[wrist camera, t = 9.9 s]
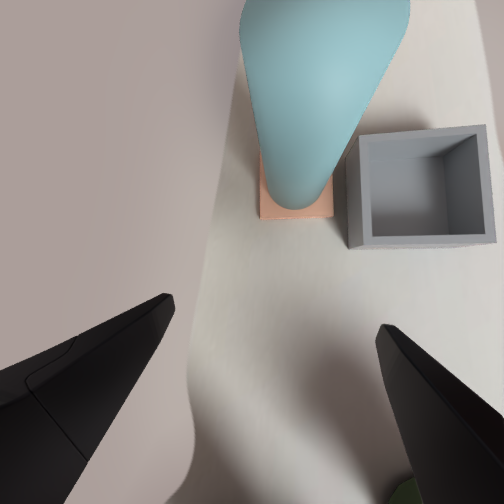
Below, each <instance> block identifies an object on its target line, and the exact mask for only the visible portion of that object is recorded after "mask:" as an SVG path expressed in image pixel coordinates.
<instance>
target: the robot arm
mask: <svg viewBox="0 0 504 504" xmlns="http://www.w3.org/2000/svg"><path fill="white" fill-rule="evenodd" d="M174 312H175V304H174V300H173V296H172V295H171V294H167V293H162V294H160V295H158V296H156V297H154V298H152V299H150V300H148V301H146V302H144V303H142V304H140V305H138V306H136V307H134V308H132V309H130V310H128V311H126V312H124V313H122V314H120V315H118V316H115V317H114V318H111V319H110V320H107V321H106V322H104V323H101V324H99V325H97V326H95V327H93V328H91V329H89V330H87V331H85V332H83V333H81V334H79V335H78V336H75V337H73V338H71V339H69V340H67V341H65V342H63V343H60V344H58V345H56V346H54V347H52V348H50V349H48V350H46V351H43V352H41V353H39V354H37V355H35V356H32V357H30V358H28V359H26V360H23V361H21V362H19V363H16V364H14V365H12V366H9V367H7V368H5V369H3V370H0V504H64V502H65V500H66V498H67V497H68V495H69V494H70V492H71V490H72V489H73V487H74V485H75V484H76V482H77V480H78V479H79V477H80V475H81V474H82V472H83V470H84V469H85V467H86V465H87V463H88V461H89V460H90V458H91V457H92V455H93V453H94V452H95V450H96V448H97V447H98V445H99V443H100V442H101V440H102V438H103V437H104V435H105V433H106V432H107V430H108V429H109V427H110V425H111V423H112V422H113V420H114V419H115V417H116V415H117V414H118V412H119V410H120V409H121V407H122V405H123V404H124V402H125V400H126V399H127V397H128V395H129V393H130V392H131V390H132V389H133V387H134V385H135V384H136V382H137V380H138V378H139V377H140V375H141V374H142V372H143V370H144V369H145V367H146V365H147V364H148V362H149V360H150V358H151V357H152V355H153V354H154V352H155V350H156V349H157V347H158V345H159V343H160V342H161V340H162V338H163V336H164V333H165V331H166V329H167V327H168V325H169V323H170V321H171V319H172V317H173V315H174ZM375 343H376V348H377V353H378V358H379V362H380V367H381V372H382V377H383V381H384V385H385V388H386V391H387V394H388V398H389V401H390V404H391V407H392V410H393V413H394V416H395V419H396V422H397V425H398V428H399V431H400V434H401V437H402V440H403V444H404V447H405V450H406V453H407V456H408V459H409V462H410V465H411V468H412V471H413V474H414V477H415V480H416V483H417V486H418V490H419V493H420V496H421V499H422V502H423V504H504V418H503V416H502V415H501V414H500V413H499V412H497V411H496V410H495V409H494V408H493V407H491V406H490V405H489V404H488V403H487V402H485V401H484V400H483V399H482V398H481V397H479V396H478V395H477V394H476V393H475V392H473V391H472V390H471V389H470V388H469V387H467V386H466V385H465V384H464V383H463V382H461V381H460V380H459V379H458V378H457V377H456V376H454V375H453V374H452V373H451V372H450V371H448V370H447V369H446V368H445V367H444V366H442V365H441V364H440V363H439V362H438V361H436V360H435V359H434V358H433V357H432V356H430V355H429V354H428V353H427V352H426V351H424V350H423V349H422V348H421V347H420V346H418V345H417V344H416V343H415V342H414V341H412V340H411V339H410V338H409V337H408V336H406V335H405V334H404V333H403V332H402V331H400V330H399V329H398V328H397V327H396V326H394V325H389V324H382V325H381V326H380V329H379V331H378V334H377V336H376V340H375Z"/></svg>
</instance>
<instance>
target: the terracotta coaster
mask: <svg viewBox="0 0 504 504" xmlns="http://www.w3.org/2000/svg"><path fill="white" fill-rule="evenodd" d="M333 216H334V211H333V180H332V174H331V176H330V178H329V180H328V182H327V184H326V186H325V187H324V189H323V191H322V193H321V195H320V196H319V198H318V199H317V200H316V201H315V202H314V203H313V204H312V205H310V206H308V207H306V208H303V209H299V210H290V209H286V208H283V207H281V206H279V205H278V204H277V203H275V202H274V200H273V199H272V198H271V196H270V194H269V191H268V187H267V182H266V176H265V171H264V166H263V160H262V155H261V151H260V219H261V220H267V219H295V218H324V217H333Z"/></svg>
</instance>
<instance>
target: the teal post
mask: <svg viewBox="0 0 504 504" xmlns="http://www.w3.org/2000/svg"><path fill="white" fill-rule="evenodd" d="M409 16H410V0H246V3H245V5H244V8H243V11H242V15H241V19H240V29H239V35H240V44H241V49H242V54H243V60H244V65H245V70H246V76H247V81H248V86H249V91H250V97H251V102H252V107H253V113H254V118H255V123H256V129H257V134H258V139H259V144H260V150H261V155H262V160H263V166H264V171H265V176H266V182H267V187H268V191H269V194H270V196H271V198H272V199H273V200H274V202H275V203H277V204H278V205H279V206H281V207H283V208H286V209H290V210H299V209H303V208H306V207H308V206H310V205H312V204H313V203H314V202H315V201H316V200H317V199H318V198H319V196H320V195H321V193H322V191H323V189H324V187H325V186H326V184H327V182H328V180H329V178H330V176H331V174H332V172H333V170H334V168H335V167H336V165H337V163H338V161H339V159H340V157H341V155H342V153H343V151H344V149H345V148H346V146H347V144H348V142H349V140H350V138H351V136H352V134H353V132H354V130H355V129H356V127H357V125H358V123H359V121H360V119H361V117H362V115H363V113H364V111H365V110H366V108H367V106H368V104H369V102H370V100H371V98H372V96H373V94H374V92H375V91H376V89H377V87H378V85H379V83H380V81H381V79H382V77H383V75H384V73H385V72H386V70H387V68H388V66H389V64H390V62H391V60H392V58H393V56H394V54H395V53H396V51H397V49H398V47H399V45H400V43H401V41H402V39H403V37H404V35H405V32H406V29H407V26H408V21H409Z"/></svg>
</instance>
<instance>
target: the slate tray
mask: <svg viewBox="0 0 504 504" xmlns="http://www.w3.org/2000/svg"><path fill="white" fill-rule="evenodd" d="M345 167H346V194H347V221H348V248H349V249H407V248H457V247H466V246H475V245H484V244H492V243H497V241H496V230H495V219H494V208H493V197H492V186H491V175H490V164H489V153H488V142H487V131H486V124H484V125H472V126H461V127H449V128H438V129H426V130H415V131H403V132H392V133H380V134H369V135H359V136H358V138H357V140H356V141H355V143H354V145H353V146H352V148H351V150H350V152H349V153H348V155H347V157H346V158H345Z"/></svg>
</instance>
